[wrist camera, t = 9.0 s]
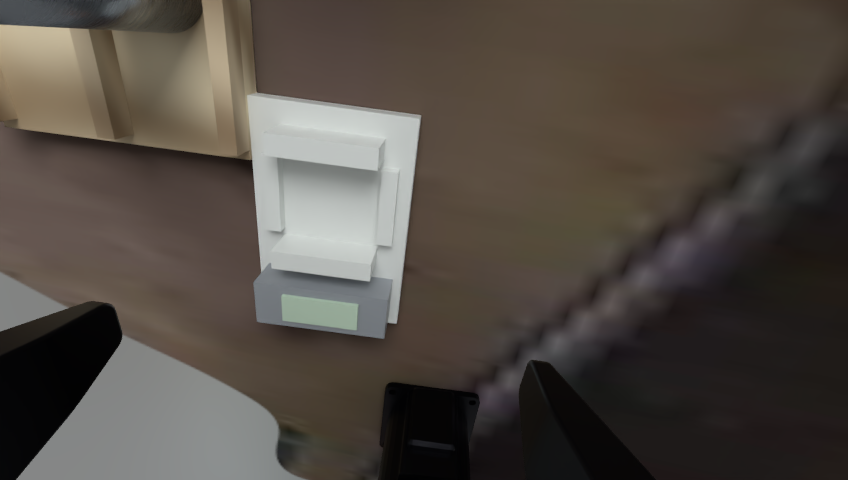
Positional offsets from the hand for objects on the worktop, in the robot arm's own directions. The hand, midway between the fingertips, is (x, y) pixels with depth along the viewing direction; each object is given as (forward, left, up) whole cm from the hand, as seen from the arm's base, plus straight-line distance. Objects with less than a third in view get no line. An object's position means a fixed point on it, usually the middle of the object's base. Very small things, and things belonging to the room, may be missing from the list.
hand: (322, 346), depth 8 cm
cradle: (-3, +3, -13) cm, 14 cm away
